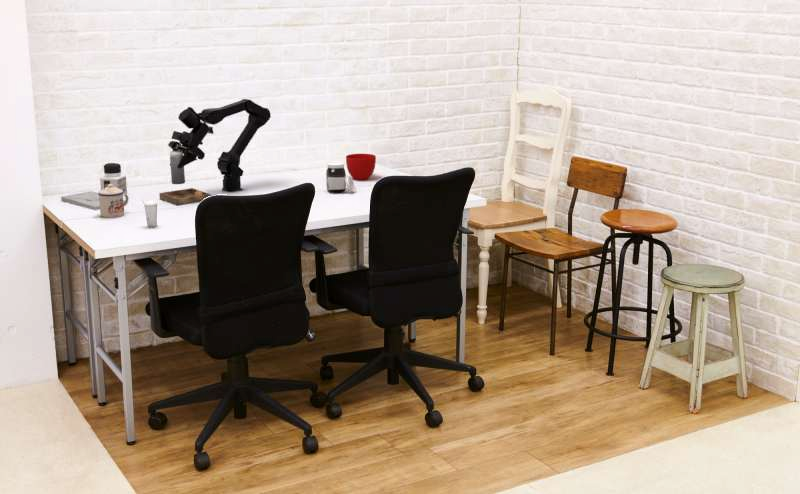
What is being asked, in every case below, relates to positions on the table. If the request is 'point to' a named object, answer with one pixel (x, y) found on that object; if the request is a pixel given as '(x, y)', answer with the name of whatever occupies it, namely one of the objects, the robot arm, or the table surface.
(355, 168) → the ceramic cup
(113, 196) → the teacup with lid
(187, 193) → the tray
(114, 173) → the container
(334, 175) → the spread jar
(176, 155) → the cylinder
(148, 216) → the milkshake
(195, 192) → the ball
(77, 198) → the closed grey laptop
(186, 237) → the table surface
